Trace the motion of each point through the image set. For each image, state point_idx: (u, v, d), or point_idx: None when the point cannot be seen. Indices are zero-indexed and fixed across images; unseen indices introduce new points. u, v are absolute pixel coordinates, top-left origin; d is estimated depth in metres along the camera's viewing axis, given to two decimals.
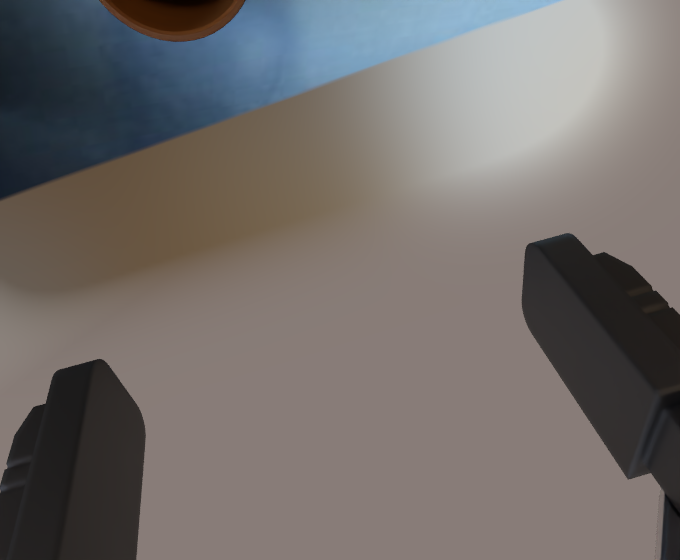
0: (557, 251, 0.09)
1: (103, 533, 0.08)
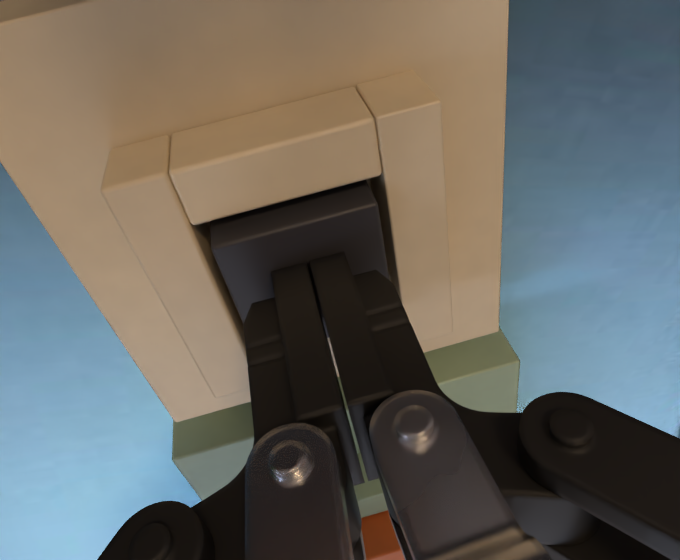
0: (324, 269, 0.10)
1: (342, 402, 0.09)
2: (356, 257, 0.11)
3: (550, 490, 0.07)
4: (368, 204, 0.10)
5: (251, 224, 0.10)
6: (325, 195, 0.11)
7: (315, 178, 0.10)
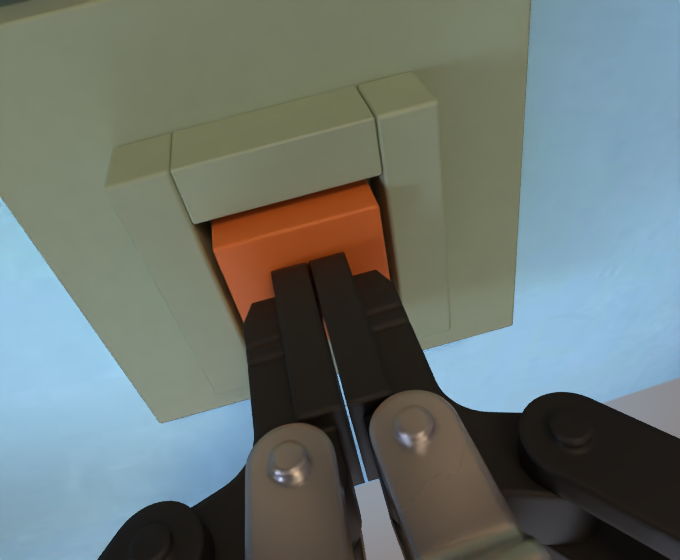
0: (324, 269, 0.10)
1: (342, 402, 0.09)
2: None
3: (550, 490, 0.07)
4: None
5: None
6: None
7: None
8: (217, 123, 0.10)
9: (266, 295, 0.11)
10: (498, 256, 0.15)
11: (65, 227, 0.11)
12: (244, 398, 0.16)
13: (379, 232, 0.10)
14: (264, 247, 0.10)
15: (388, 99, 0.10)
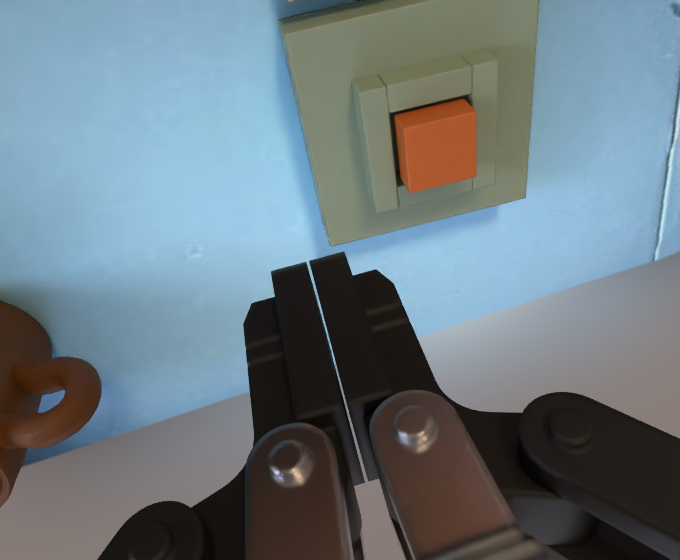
0: (324, 269, 0.10)
1: (342, 402, 0.09)
2: None
3: (550, 491, 0.07)
4: None
5: None
6: None
7: None
8: (399, 70, 0.24)
9: (420, 155, 0.24)
10: (519, 151, 0.28)
11: (320, 119, 0.25)
12: (377, 233, 0.29)
13: (475, 125, 0.23)
14: (425, 129, 0.23)
15: (475, 59, 0.23)
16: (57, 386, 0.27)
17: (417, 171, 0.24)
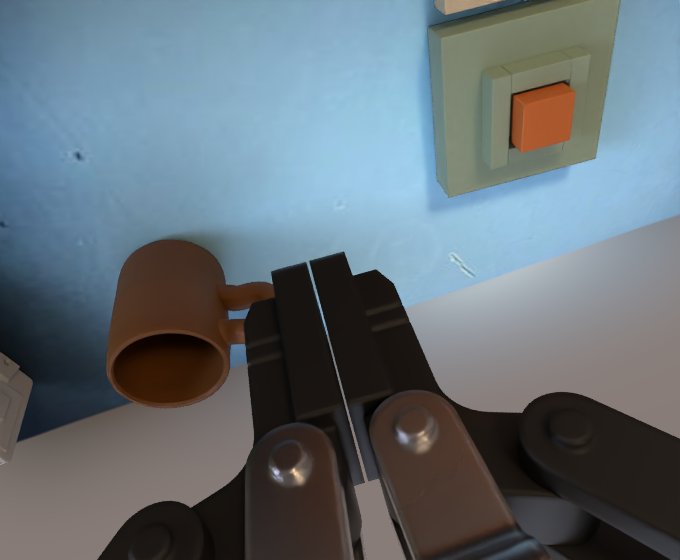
0: (324, 269, 0.10)
1: (342, 402, 0.09)
2: None
3: (550, 490, 0.07)
4: None
5: None
6: None
7: None
8: (516, 62, 0.33)
9: (533, 124, 0.33)
10: (594, 122, 0.37)
11: (456, 99, 0.34)
12: (483, 187, 0.38)
13: (573, 101, 0.32)
14: (538, 105, 0.32)
15: (573, 54, 0.32)
16: (253, 302, 0.36)
17: (529, 136, 0.33)
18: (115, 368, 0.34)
